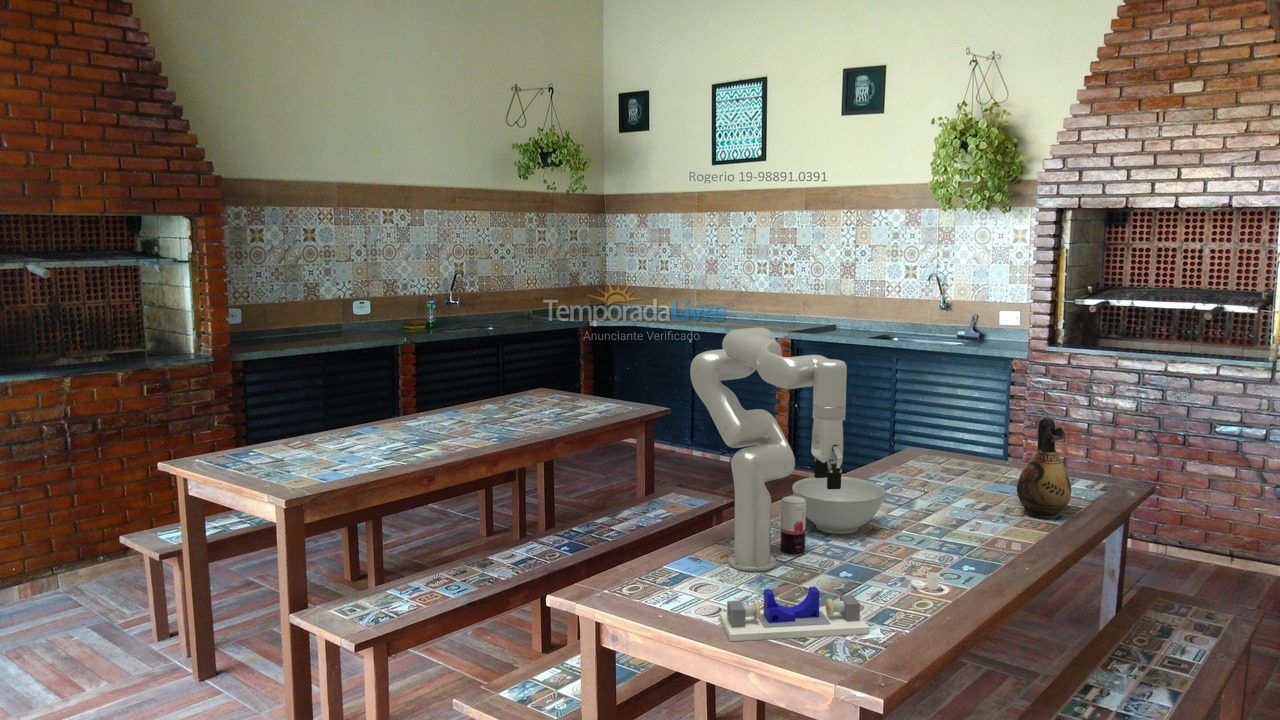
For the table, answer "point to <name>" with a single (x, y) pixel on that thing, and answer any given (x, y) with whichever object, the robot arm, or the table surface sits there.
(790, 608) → the blue cradle bracket
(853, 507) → the decorative bowl
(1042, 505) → the ceramic jug
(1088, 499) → the table surface
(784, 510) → the beverage can
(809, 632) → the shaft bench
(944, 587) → the teacup and saucer
